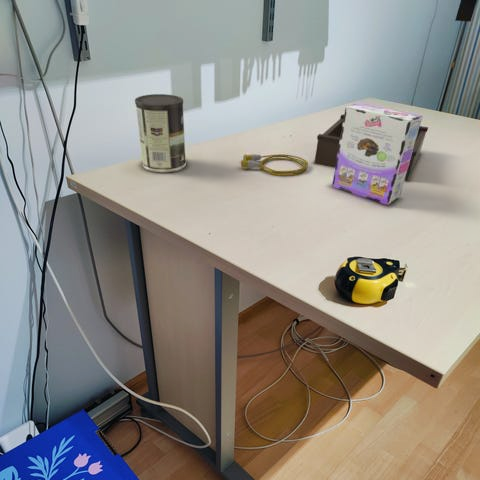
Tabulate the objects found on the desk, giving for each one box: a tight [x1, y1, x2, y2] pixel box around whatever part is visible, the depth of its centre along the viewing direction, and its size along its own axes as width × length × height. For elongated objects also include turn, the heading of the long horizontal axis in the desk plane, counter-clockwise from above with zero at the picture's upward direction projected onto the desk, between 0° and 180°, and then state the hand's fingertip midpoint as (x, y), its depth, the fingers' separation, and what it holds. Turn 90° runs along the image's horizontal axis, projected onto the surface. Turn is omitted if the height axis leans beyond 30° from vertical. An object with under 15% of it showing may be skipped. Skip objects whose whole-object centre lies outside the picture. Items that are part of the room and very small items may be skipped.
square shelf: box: [314, 113, 429, 182], centre depth 106 cm, size 23×23×7 cm
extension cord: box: [240, 153, 309, 177], centre depth 101 cm, size 12×16×2 cm
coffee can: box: [134, 93, 187, 173], centre depth 95 cm, size 10×10×14 cm
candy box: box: [331, 102, 423, 206], centre depth 86 cm, size 14×6×16 cm, turn 47°
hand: (463, 19), depth 84 cm, fingers open, 13 cm apart
